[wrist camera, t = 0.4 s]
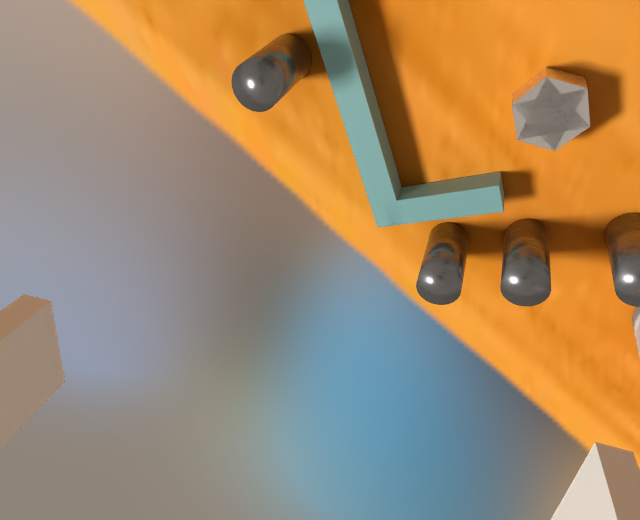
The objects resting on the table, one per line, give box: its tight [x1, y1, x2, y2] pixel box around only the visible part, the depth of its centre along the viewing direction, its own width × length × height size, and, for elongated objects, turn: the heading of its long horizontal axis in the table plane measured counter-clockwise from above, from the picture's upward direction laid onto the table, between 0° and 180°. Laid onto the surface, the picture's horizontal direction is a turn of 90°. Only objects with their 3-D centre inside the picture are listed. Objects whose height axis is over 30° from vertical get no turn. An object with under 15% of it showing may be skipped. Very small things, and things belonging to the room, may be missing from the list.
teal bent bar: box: [303, 0, 505, 227], centre depth 28 cm, size 24×10×12 cm, turn 21°
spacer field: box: [232, 34, 640, 307], centre depth 32 cm, size 26×20×6 cm
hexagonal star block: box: [512, 67, 590, 151], centre depth 31 cm, size 4×5×2 cm
